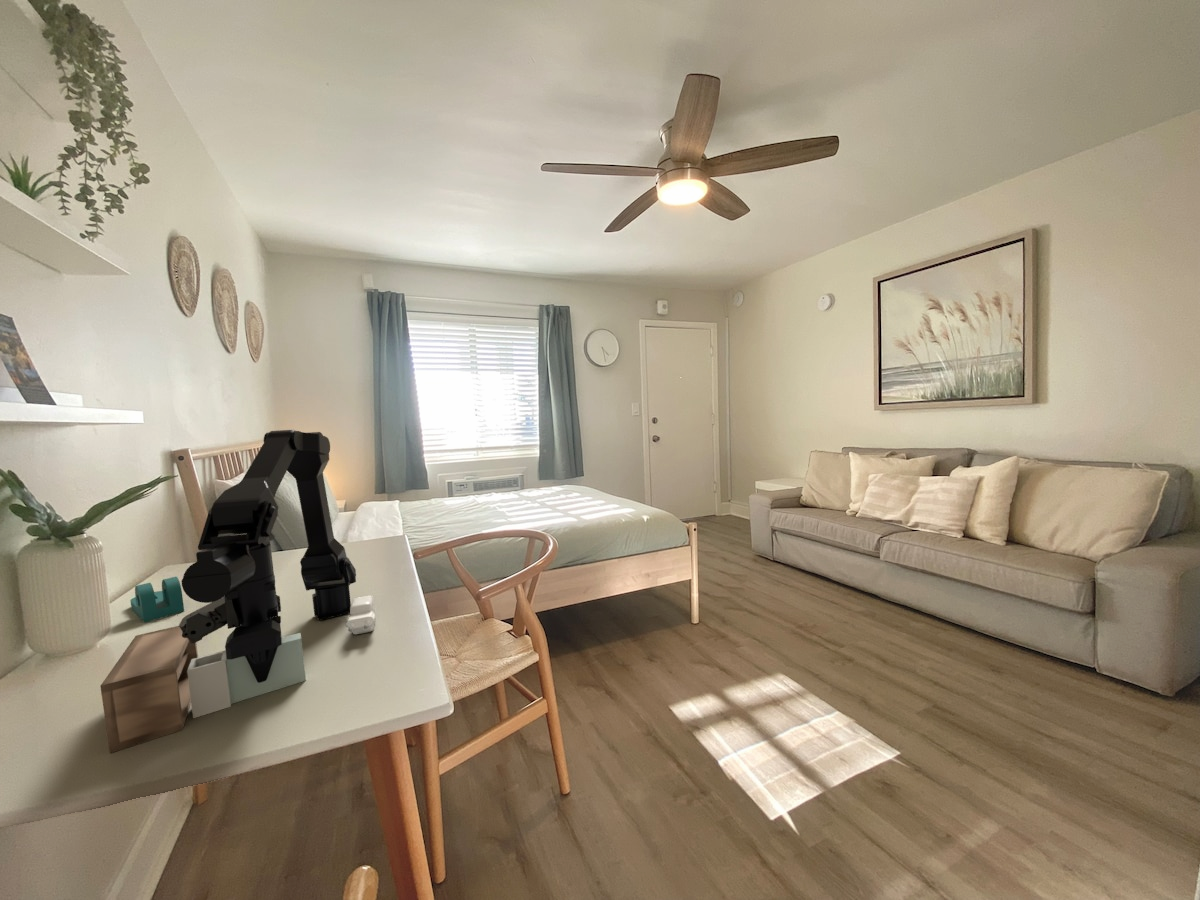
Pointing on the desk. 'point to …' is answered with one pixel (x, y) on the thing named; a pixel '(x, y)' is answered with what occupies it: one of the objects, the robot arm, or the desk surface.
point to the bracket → (158, 600)
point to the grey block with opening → (241, 677)
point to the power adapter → (361, 615)
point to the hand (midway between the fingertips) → (262, 675)
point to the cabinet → (148, 689)
